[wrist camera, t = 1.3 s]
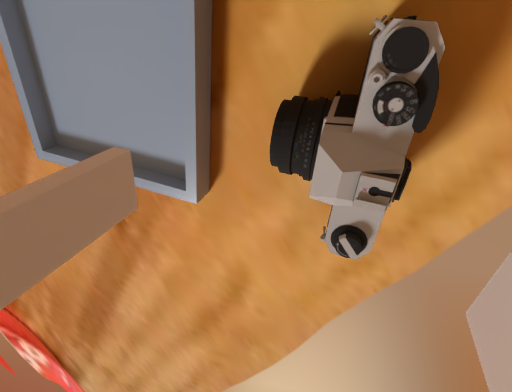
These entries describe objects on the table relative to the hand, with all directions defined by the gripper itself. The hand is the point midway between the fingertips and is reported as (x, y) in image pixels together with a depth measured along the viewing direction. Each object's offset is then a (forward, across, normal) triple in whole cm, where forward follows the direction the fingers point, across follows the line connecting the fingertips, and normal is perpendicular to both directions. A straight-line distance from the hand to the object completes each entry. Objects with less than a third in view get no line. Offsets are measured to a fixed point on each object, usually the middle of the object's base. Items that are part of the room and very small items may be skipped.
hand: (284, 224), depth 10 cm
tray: (+12, -18, +1) cm, 22 cm away
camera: (+13, +1, 0) cm, 13 cm away
